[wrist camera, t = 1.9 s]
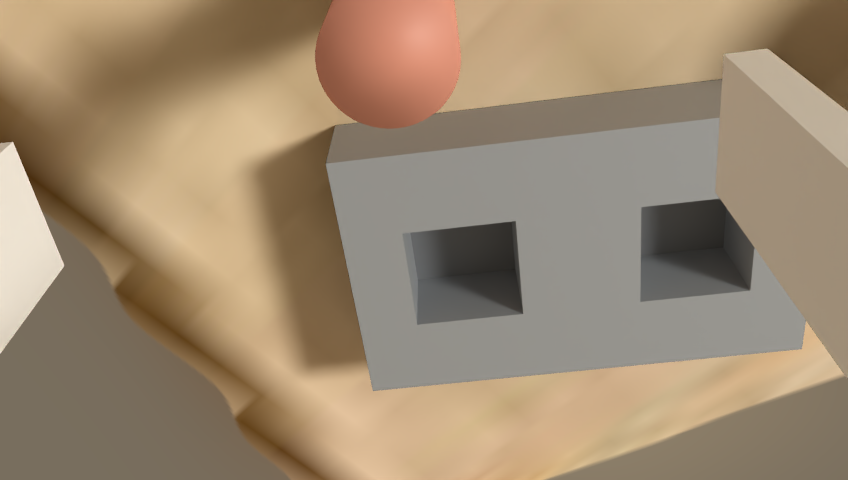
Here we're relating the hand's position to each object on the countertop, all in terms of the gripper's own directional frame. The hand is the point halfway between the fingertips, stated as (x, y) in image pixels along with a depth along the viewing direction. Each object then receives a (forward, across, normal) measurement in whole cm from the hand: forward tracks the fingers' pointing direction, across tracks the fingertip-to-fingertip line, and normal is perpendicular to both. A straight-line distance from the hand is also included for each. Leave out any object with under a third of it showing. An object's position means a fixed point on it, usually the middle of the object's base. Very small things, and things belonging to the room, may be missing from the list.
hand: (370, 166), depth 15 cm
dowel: (+20, 0, 0) cm, 20 cm away
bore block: (+20, +6, -13) cm, 24 cm away
